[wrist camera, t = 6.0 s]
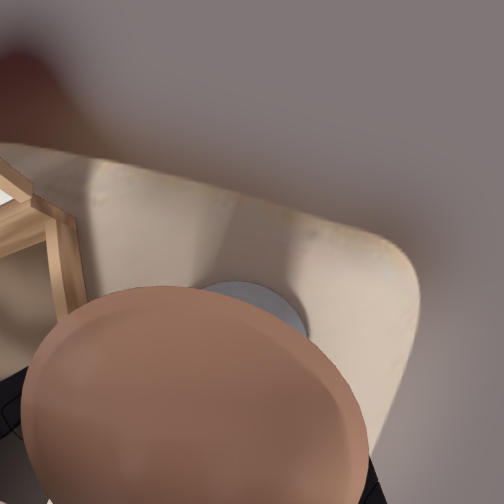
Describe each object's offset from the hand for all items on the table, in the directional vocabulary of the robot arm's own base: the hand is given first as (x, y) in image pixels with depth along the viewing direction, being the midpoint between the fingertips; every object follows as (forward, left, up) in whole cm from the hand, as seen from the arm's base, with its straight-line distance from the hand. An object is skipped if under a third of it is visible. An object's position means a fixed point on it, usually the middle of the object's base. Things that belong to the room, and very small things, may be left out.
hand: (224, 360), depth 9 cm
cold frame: (+4, +19, -11) cm, 23 cm away
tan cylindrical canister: (-1, +1, -9) cm, 9 cm away
